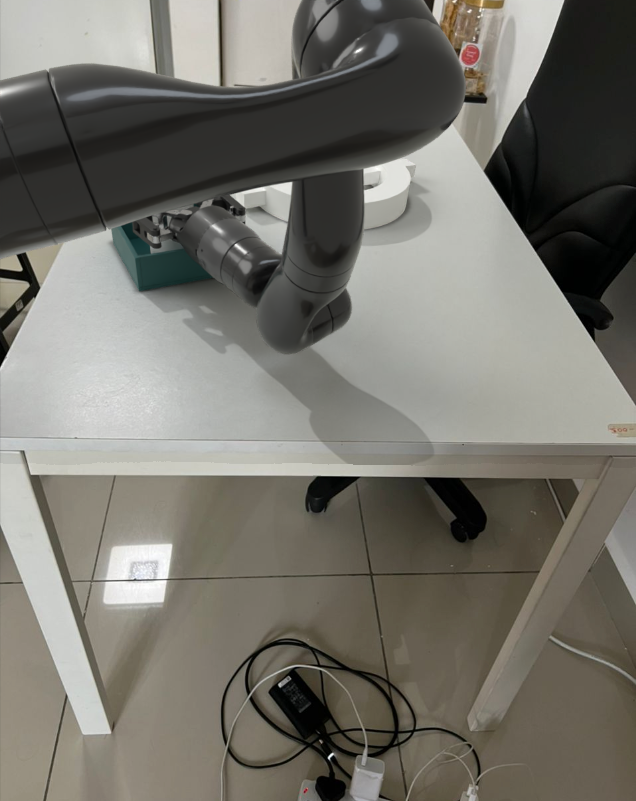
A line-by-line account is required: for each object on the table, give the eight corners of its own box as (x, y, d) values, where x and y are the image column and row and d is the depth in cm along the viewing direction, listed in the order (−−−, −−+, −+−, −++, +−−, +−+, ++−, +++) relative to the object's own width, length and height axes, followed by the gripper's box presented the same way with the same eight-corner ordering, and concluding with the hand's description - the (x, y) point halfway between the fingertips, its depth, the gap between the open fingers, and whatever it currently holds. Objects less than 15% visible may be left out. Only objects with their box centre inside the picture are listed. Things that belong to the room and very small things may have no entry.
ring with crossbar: (229, 212, 108) (229, 185, 104) (276, 154, 128) (277, 130, 125) (393, 243, 104) (398, 216, 101) (414, 178, 125) (419, 154, 122)
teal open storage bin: (139, 291, 88) (134, 258, 84) (113, 243, 97) (108, 212, 93) (236, 273, 93) (236, 241, 90) (203, 230, 102) (202, 199, 99)
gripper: (274, 208, 81) (208, 162, 90) (171, 233, 74) (112, 180, 83) (272, 261, 86) (210, 212, 95) (176, 289, 79) (119, 234, 88)
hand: (164, 197), depth 89 cm, fingers open, 8 cm apart
